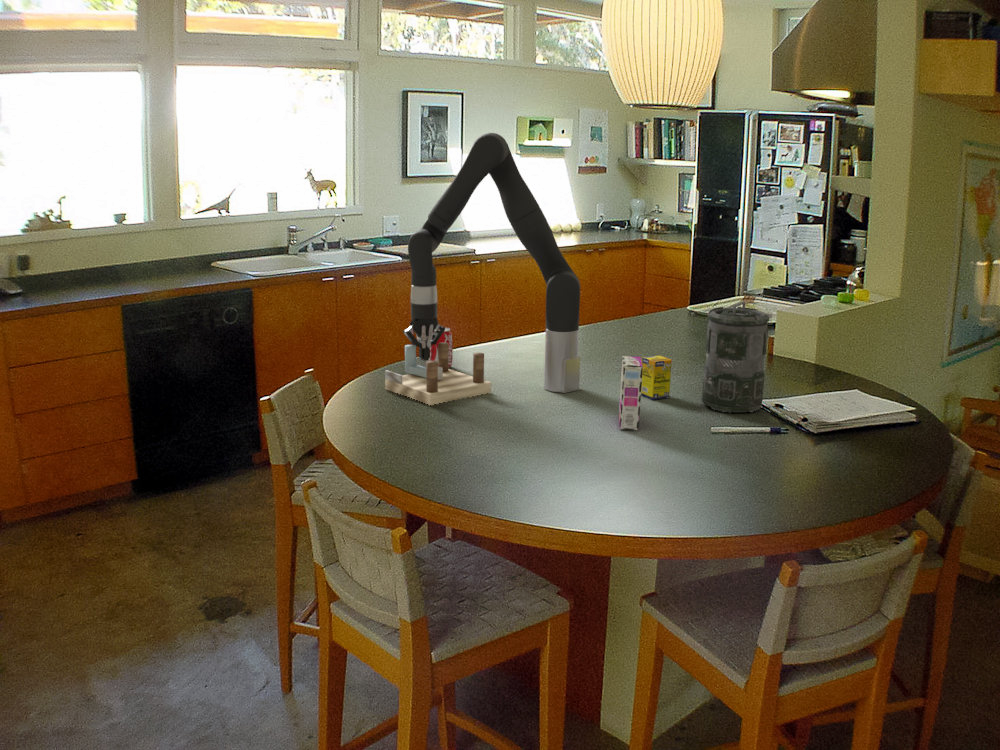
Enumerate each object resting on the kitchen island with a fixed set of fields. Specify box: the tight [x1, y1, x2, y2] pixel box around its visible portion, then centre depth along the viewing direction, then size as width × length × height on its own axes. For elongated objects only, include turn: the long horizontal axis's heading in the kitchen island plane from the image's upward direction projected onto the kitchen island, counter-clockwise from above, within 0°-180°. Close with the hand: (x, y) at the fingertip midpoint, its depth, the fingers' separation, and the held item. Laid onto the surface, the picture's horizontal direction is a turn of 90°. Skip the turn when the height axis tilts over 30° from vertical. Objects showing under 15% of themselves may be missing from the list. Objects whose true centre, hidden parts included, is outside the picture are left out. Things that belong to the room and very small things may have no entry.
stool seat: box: [384, 343, 492, 406], centre depth 269 cm, size 21×21×11 cm
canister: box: [701, 301, 770, 413], centre depth 256 cm, size 16×16×28 cm
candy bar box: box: [618, 355, 643, 432], centre depth 240 cm, size 11×5×16 cm, turn 175°
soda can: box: [428, 327, 454, 368], centre depth 295 cm, size 7×7×12 cm
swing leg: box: [404, 344, 443, 380], centre depth 272 cm, size 14×3×8 cm, turn 47°
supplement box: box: [641, 355, 673, 401], centre depth 266 cm, size 6×6×11 cm
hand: (424, 359), depth 279 cm, fingers closed
